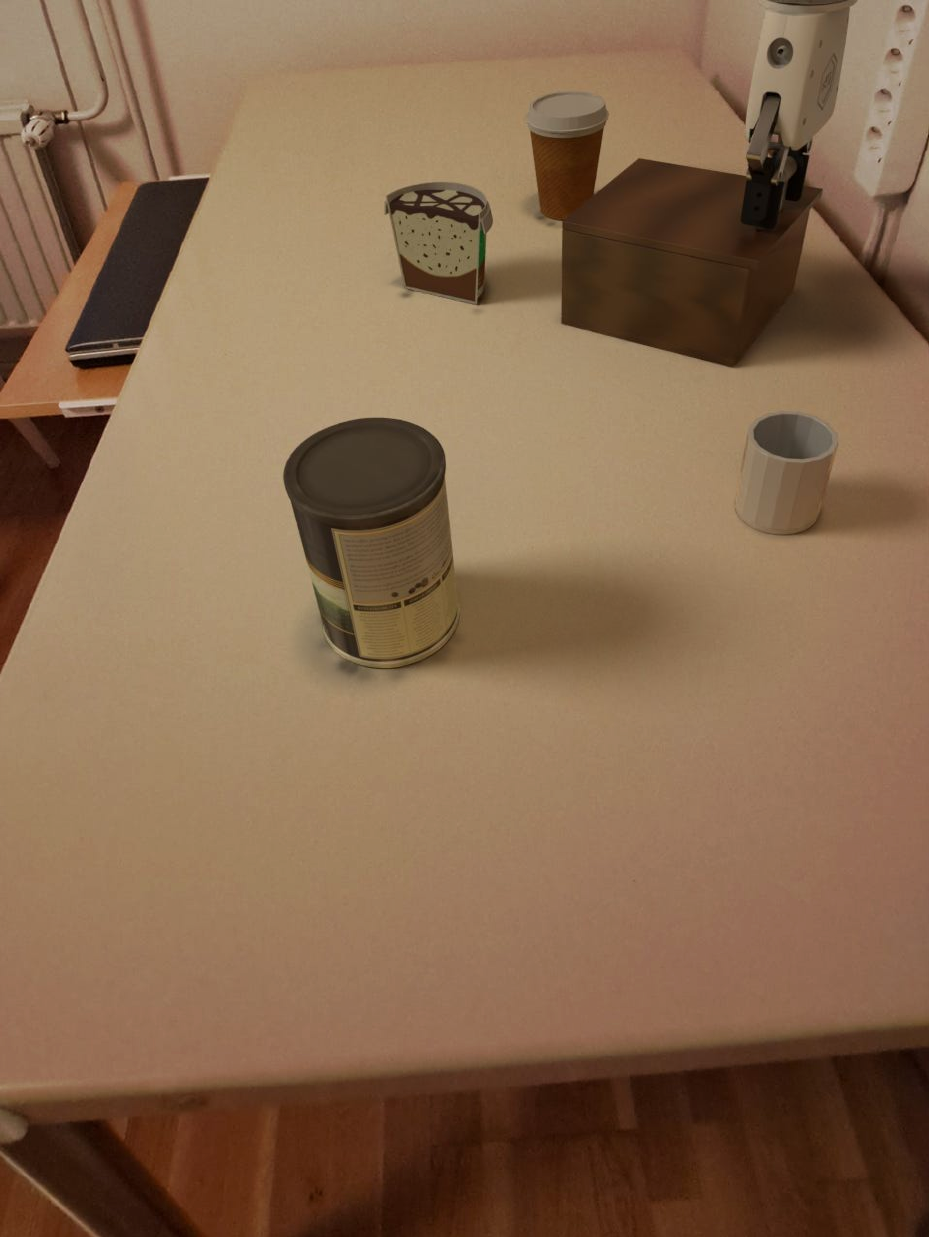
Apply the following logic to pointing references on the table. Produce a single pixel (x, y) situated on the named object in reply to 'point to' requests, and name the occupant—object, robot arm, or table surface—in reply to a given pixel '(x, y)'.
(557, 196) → the disposable coffee cup
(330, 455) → the coffee can
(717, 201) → the chest lid
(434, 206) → the food container
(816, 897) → the table surface
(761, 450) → the white cup
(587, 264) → the storage chest
